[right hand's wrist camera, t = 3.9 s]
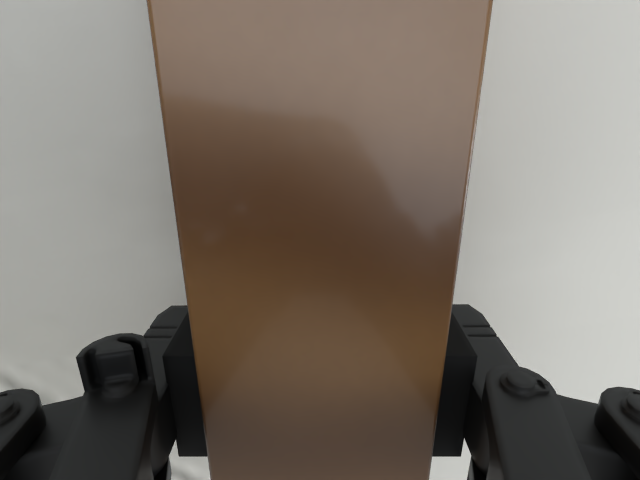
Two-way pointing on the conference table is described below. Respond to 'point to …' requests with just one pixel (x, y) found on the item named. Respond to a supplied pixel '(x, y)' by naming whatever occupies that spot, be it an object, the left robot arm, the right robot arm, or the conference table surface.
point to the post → (319, 221)
